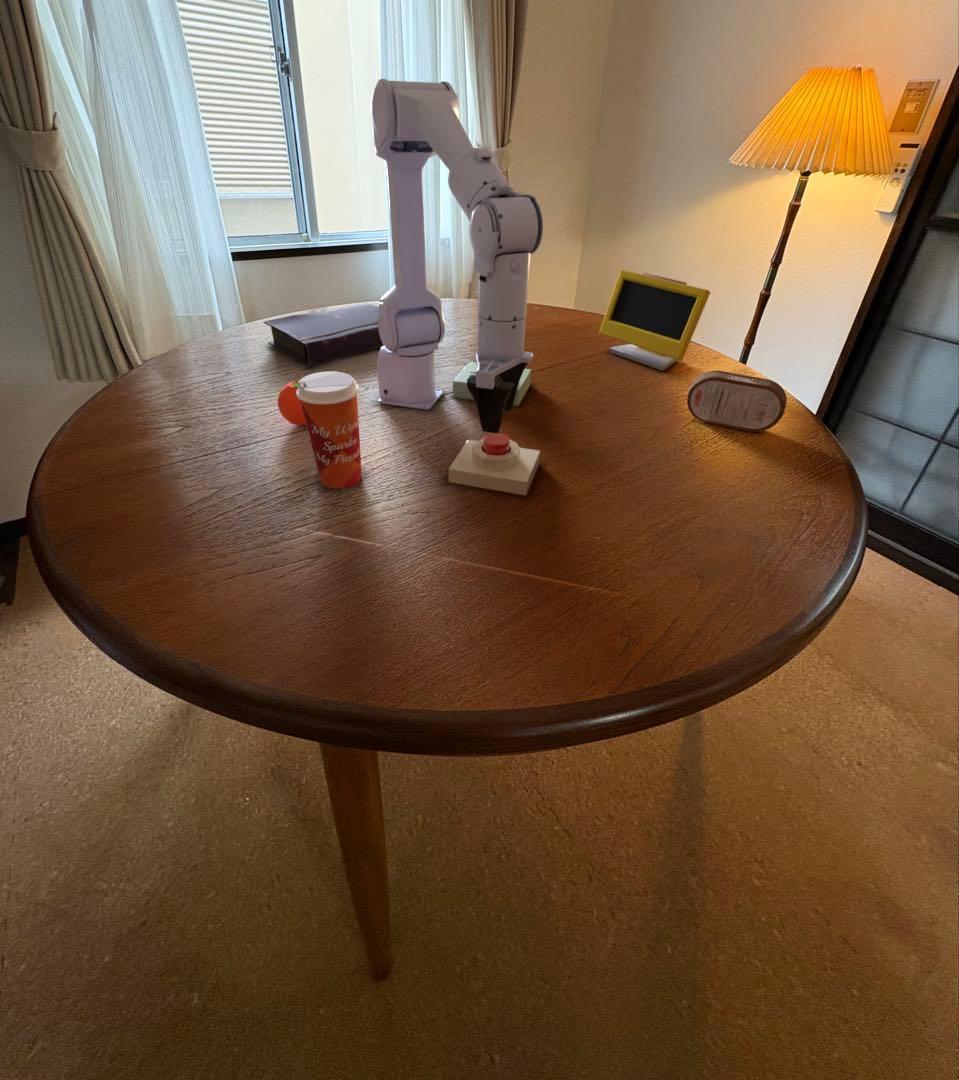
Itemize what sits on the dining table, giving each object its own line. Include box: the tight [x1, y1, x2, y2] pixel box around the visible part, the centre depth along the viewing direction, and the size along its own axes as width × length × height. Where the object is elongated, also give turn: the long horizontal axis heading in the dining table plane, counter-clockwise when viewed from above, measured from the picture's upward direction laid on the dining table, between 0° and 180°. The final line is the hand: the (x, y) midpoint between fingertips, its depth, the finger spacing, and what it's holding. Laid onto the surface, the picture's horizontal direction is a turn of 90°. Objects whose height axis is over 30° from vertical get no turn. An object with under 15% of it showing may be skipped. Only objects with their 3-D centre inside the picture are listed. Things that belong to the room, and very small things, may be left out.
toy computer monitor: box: [598, 269, 711, 372], centre depth 113 cm, size 20×8×16 cm, turn 41°
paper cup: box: [296, 370, 362, 489], centre depth 74 cm, size 8×8×14 cm
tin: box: [686, 369, 788, 433], centre depth 91 cm, size 15×3×8 cm, turn 65°
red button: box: [483, 432, 511, 456], centre depth 77 cm, size 4×4×2 cm
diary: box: [263, 302, 384, 367], centre depth 120 cm, size 19×25×5 cm
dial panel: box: [452, 361, 532, 407], centre depth 102 cm, size 12×10×3 cm
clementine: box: [277, 380, 307, 427], centre depth 88 cm, size 8×7×7 cm
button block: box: [448, 437, 541, 496], centre depth 79 cm, size 11×9×4 cm
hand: (497, 419), depth 75 cm, fingers open, 6 cm apart
